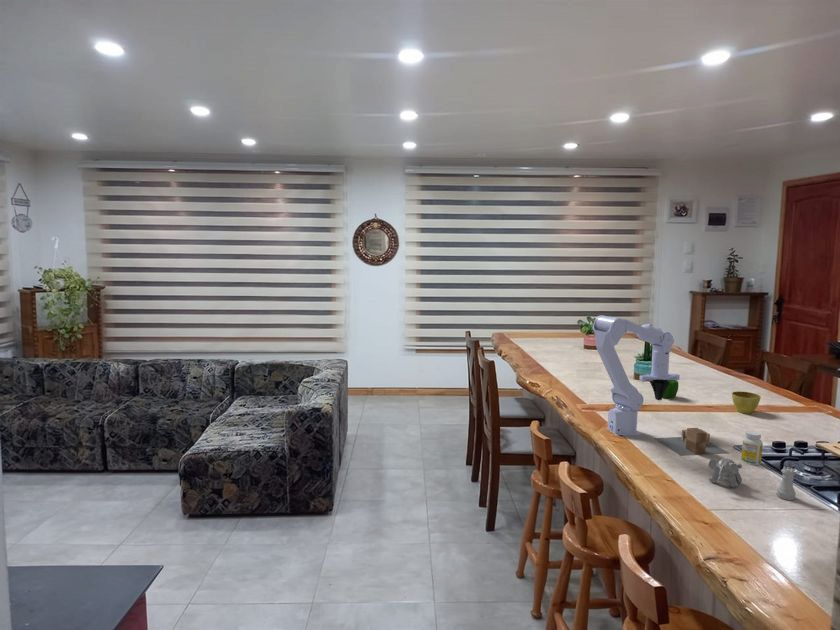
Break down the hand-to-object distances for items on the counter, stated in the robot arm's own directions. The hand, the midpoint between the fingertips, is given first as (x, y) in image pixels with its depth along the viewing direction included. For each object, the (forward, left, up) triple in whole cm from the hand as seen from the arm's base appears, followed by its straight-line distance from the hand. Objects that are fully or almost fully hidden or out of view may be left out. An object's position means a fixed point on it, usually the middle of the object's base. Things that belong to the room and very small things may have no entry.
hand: (658, 399), depth 205 cm
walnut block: (-1, -25, -10) cm, 27 cm away
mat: (0, -20, -10) cm, 23 cm away
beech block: (0, -17, -8) cm, 19 cm away
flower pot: (+46, +13, -11) cm, 49 cm away
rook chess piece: (+3, -58, -11) cm, 59 cm away
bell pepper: (+27, +37, -11) cm, 47 cm away
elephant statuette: (-8, -49, -11) cm, 51 cm away
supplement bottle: (+11, -35, -11) cm, 38 cm away
